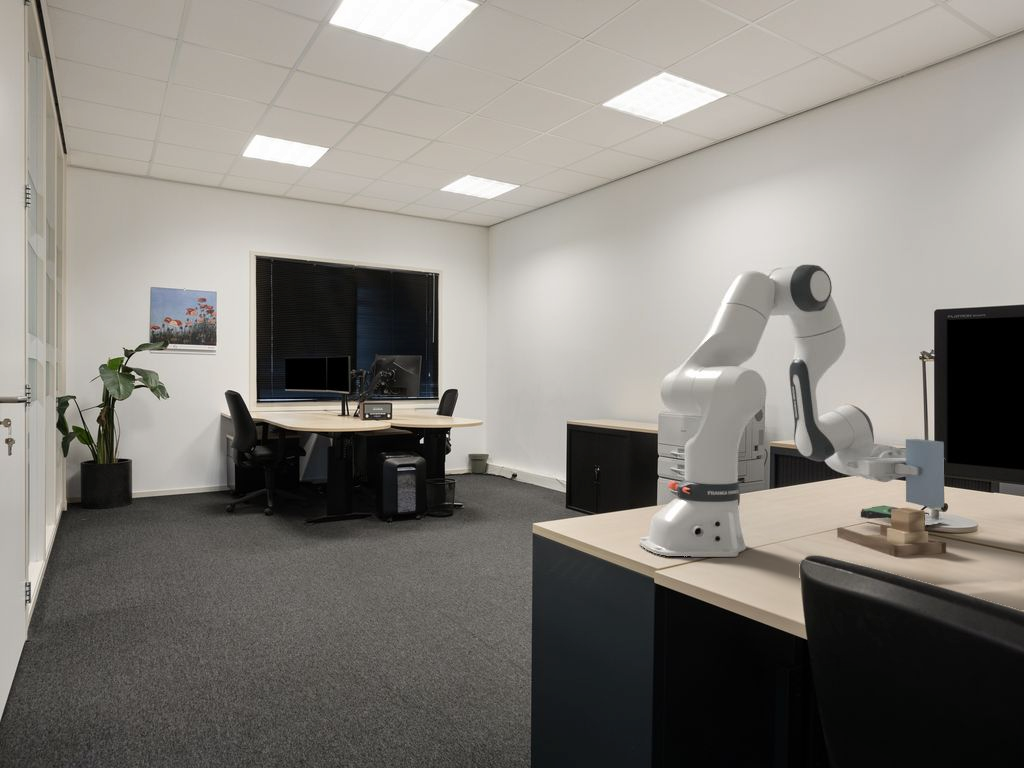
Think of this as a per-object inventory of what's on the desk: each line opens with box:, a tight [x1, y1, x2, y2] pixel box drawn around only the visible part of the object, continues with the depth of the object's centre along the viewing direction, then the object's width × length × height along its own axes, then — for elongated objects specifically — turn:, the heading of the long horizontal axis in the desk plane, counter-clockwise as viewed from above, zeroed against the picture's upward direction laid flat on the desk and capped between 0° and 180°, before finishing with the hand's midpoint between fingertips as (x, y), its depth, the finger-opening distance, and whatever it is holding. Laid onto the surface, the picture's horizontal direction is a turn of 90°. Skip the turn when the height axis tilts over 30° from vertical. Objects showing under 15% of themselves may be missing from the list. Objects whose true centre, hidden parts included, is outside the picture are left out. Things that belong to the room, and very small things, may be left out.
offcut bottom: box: [887, 528, 929, 544], centre depth 130 cm, size 6×4×4 cm
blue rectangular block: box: [905, 438, 945, 509], centre depth 141 cm, size 3×7×14 cm, turn 11°
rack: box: [836, 524, 947, 557], centre depth 134 cm, size 12×16×4 cm
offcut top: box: [890, 507, 926, 533], centre depth 130 cm, size 4×4×4 cm
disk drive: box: [860, 505, 941, 520], centre depth 164 cm, size 10×3×15 cm
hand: (927, 470), depth 140 cm, fingers closed on blue rectangular block, 3 cm apart
